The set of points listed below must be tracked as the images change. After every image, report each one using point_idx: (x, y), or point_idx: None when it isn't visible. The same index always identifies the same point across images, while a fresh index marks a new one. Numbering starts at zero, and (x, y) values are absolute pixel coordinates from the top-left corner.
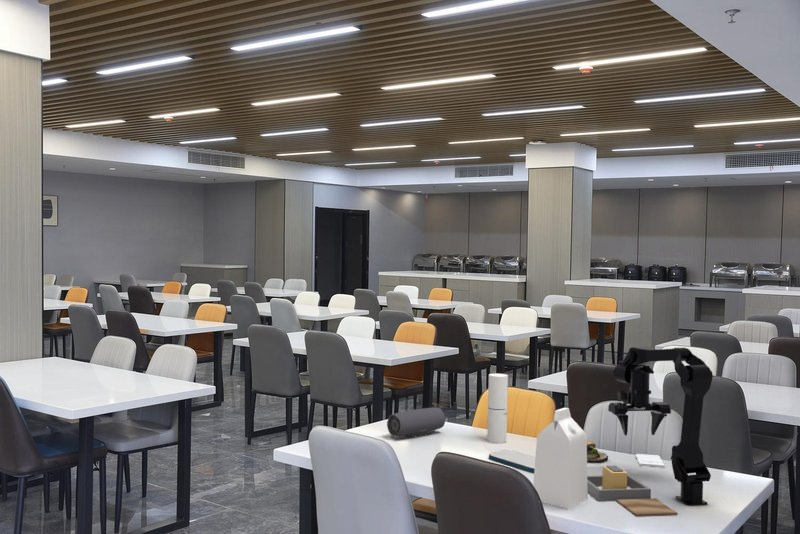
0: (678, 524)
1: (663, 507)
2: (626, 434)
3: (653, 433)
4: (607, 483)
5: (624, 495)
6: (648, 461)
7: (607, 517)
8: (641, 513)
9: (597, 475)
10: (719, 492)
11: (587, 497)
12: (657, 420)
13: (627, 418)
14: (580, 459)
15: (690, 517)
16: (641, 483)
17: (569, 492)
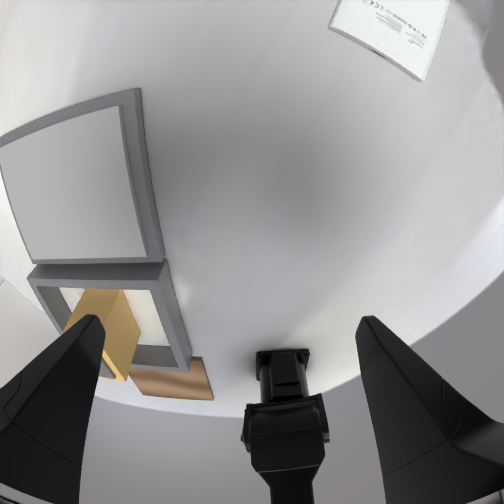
0: (199, 411)
1: (198, 387)
2: (101, 342)
3: (358, 351)
4: None
5: None
6: (387, 13)
7: (103, 384)
8: (151, 395)
9: (67, 234)
10: (392, 318)
11: None
12: (383, 476)
13: (75, 485)
14: None
15: (231, 402)
16: (177, 346)
17: None
